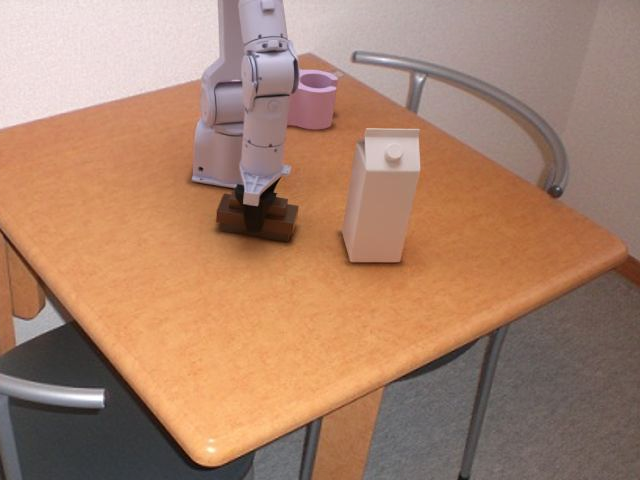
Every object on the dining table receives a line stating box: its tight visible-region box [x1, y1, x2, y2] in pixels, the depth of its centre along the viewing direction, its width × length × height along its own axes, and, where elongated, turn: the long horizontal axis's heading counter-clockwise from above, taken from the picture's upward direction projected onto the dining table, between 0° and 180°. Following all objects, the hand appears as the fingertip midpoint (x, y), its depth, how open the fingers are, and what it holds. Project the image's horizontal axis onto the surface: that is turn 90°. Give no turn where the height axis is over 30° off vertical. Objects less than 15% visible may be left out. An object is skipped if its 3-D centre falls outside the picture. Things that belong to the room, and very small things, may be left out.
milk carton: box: [341, 127, 421, 263], centre depth 119 cm, size 7×7×19 cm
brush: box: [215, 189, 300, 243], centre depth 126 cm, size 11×5×5 cm, turn 79°
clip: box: [220, 68, 339, 131], centre depth 152 cm, size 20×12×7 cm, turn 81°
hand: (256, 220), depth 127 cm, fingers closed on brush, 4 cm apart
